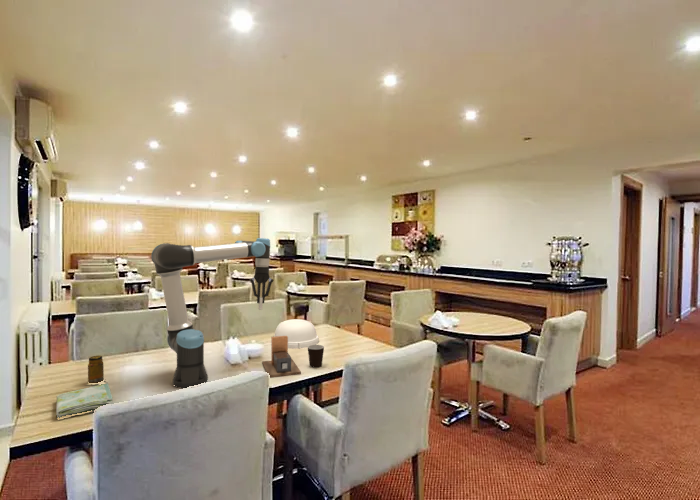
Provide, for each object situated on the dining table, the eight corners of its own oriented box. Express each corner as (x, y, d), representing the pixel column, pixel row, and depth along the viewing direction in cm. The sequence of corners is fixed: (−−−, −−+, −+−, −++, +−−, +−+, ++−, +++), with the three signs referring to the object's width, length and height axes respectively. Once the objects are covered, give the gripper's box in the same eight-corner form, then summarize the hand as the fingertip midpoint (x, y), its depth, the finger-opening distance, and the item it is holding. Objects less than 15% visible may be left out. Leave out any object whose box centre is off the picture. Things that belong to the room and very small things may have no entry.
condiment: (92, 380, 186) (92, 354, 185) (111, 379, 187) (111, 354, 186) (83, 386, 178) (83, 359, 178) (103, 385, 179) (103, 359, 179)
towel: (55, 423, 144) (55, 409, 144) (56, 402, 162) (56, 390, 162) (113, 410, 155) (113, 397, 155) (108, 392, 172) (108, 381, 172)
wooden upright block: (276, 373, 192) (276, 344, 192) (271, 363, 207) (271, 336, 207) (292, 371, 195) (293, 343, 195) (286, 361, 210) (286, 335, 210)
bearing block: (277, 372, 194) (277, 358, 194) (273, 366, 203) (273, 353, 203) (291, 371, 197) (291, 357, 196) (287, 365, 206) (287, 351, 206)
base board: (268, 377, 191) (268, 375, 191) (262, 363, 211) (262, 361, 211) (301, 374, 196) (301, 371, 196) (291, 360, 217) (291, 358, 217)
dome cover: (270, 337, 267) (270, 316, 266) (314, 334, 275) (314, 314, 274) (274, 350, 236) (274, 327, 235) (323, 347, 244) (323, 324, 243)
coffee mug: (321, 369, 204) (321, 349, 203) (305, 367, 206) (305, 348, 205) (327, 362, 215) (327, 343, 215) (311, 360, 217) (312, 342, 217)
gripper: (272, 266, 224) (270, 308, 223) (249, 265, 219) (247, 308, 218) (275, 266, 217) (273, 310, 216) (251, 266, 212) (249, 310, 211)
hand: (260, 309), depth 217 cm, fingers closed
